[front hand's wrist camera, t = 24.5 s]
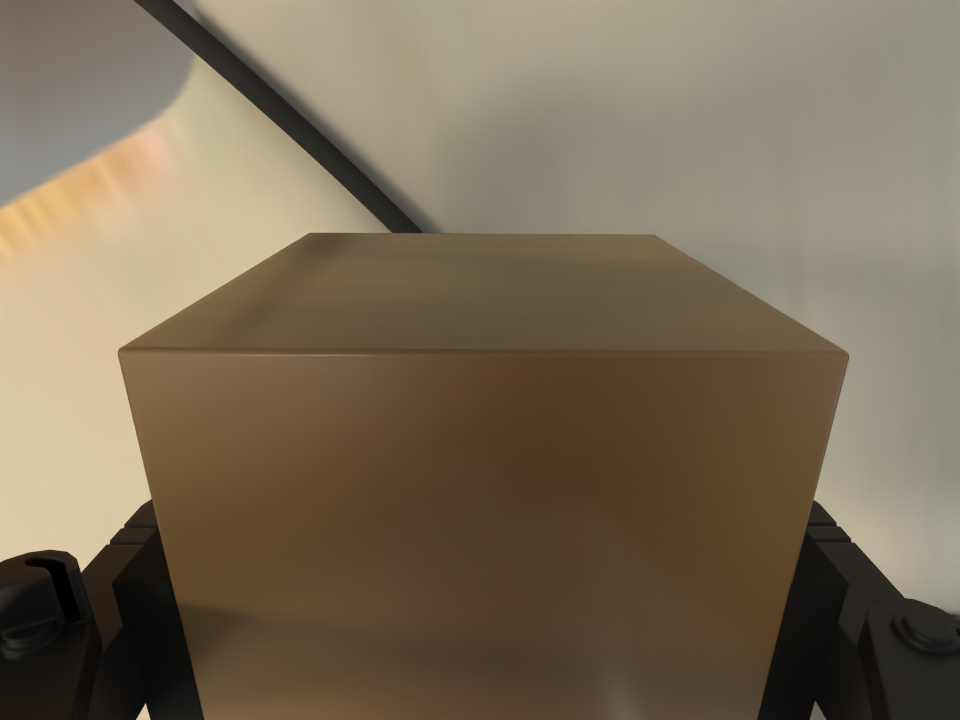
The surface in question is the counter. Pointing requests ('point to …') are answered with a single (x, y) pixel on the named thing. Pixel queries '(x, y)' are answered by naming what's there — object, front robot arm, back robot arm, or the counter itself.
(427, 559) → the block
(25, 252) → the counter surface
